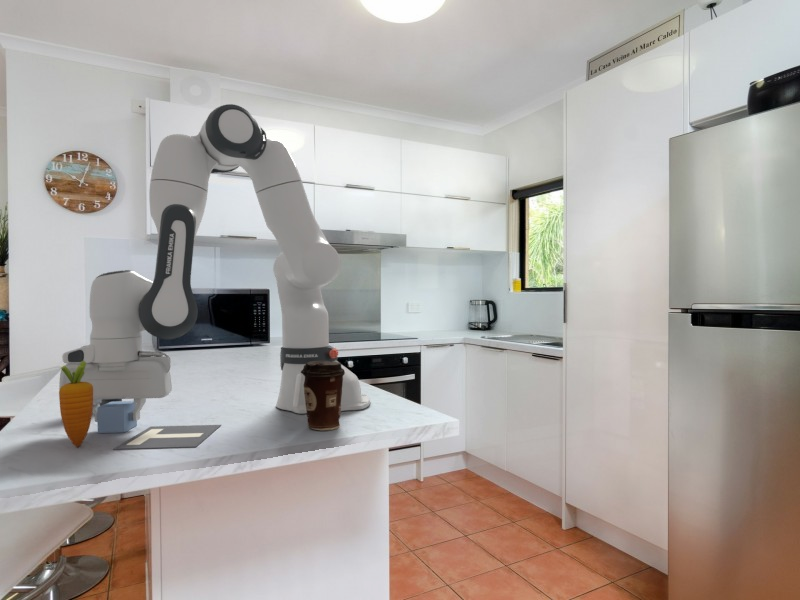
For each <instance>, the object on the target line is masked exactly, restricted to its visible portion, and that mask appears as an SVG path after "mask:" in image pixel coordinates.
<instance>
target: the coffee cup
mask: <svg viewBox="0 0 800 600" xmlns="http://www.w3.org/2000/svg"><path fill="white" fill-rule="evenodd" d="M341 364H342V363H341V362H339V361H338V362H330V361H310V362H307V363H306V365H304V368H303V370H302V371H301V373H302V374H303V375H304V376H305V381H304V395H305V404H306V411H307V413H306V416H307V427H308V428H310V429H312V430H313V431H314V430H315V431H320V432H321V431H333V430H337V429H338V428H340V424H341V423H340V419H341V412H342V411H341V398H342V385H343V375H344V374H345V372H344V369H343V368H342V367H341Z"/></svg>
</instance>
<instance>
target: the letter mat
mask: <svg viewBox="0 0 800 600" xmlns="http://www.w3.org/2000/svg"><path fill="white" fill-rule="evenodd" d="M221 426H222V424H204V425H203V424H198V425H196V424H194V425H193V424H192V425H163V426H161V425H160V426H156V425H155V426H149V427H147V428H146V429H144V430H142V431H140V432H139V433H138V434H136V435H134V436H133V437H130V438H129V439H127V440H126V441H123V442H122V443H120V444H119V445H117V446H115V447H114V448H112V450H116V451H117V450H119V451H120V450H147V449H150V450H151V449H181V448H185V449H186V448H197V447H198V446H199V445H201V444H202V443H203V442H204V441H205V440H206V439H208V438H209V437H210V436H211V435H212V434H213V433H214V432H216V430H218V429H220V427H221Z"/></svg>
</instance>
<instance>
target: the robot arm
mask: <svg viewBox="0 0 800 600" xmlns="http://www.w3.org/2000/svg"><path fill="white" fill-rule="evenodd" d="M267 137H268V136H267V134H266V131H265V130H264V129H263V128H262V127H261V126H260V125H259V124H258V122H257V120H256V119H255V117H254V116H253V114H252V113H250V112H249V111H248V110H247V109H245V108H244V107H242V106H240V105H237V104H232V103H231V104H223V105H220V106H218V107H215V109H213V110H212V111H211V112H210V113H209V114H208V116H207V118H206V120H205V121H204V122H203V123H202V126H201V128H200V131H199V132H198V134H197V135H194V136H193V135H191V136H190V135H187V134H184V133H183V134H181V133H175V134H169V135H167V136H165V137H164V138H162V140H161V141H160V143H159V146H158V148H157V151H156V154H155V157H154V162H153V165H152V170H151V176H150V182H149V191H148V192H149V194H148V195H149V211H150V212H149V213H150V217H151V218H152V220H153V223H154V225H155V227H156V231H157V240H158V241H157V243H158V244H157V252H156V259H155V261H156V262H155V269H154V270H155V271H154V277H153V281H152V279H151V280H150V279H149V278H146V277H144V276H143V275H141V274H139V273H138V272H136V271H135V270H132V269H125V270H115V271H110V272H109V271H108V272H106V273H101V274H99V275H98V276H96V277H95V279H93V281H92V282H91V286H90V293H89V318H90V322H91V332H90V335H89V344H87V345H83V346H81V347H78V348H75V349H72V350H69V351H65V352H64V353H63V354H62V356H61V357H62V362H63V364H64V365H63V366H66V367H67V368H68V369H69V371H70V372H71V374H72V372H75V371H76V369H77V367H78V366H79V365H80V364H81V361H85V362H86V365H85V369H84V372H85V373H84V375H83V377H82V378H81V380H80V382H88V383H90V384H92V386H93V411H92V414H94V422H95V423H97V407H99V406H100V405H99V403H101V399H122V400H128V399H129V400H130V399H132V400H133V401H134V404H137V405H136V407H135V409H134V410H133V411H131V412H129V413H128V416H129V418H128V420H129V421H137V422H138V421H139V420H141V411H142V409H143V407H144V406H145V404H146V402H147V399H163V398H165V397H167V396H169V395H170V394H171V392H172V389H173V384H172V376H171V371H170V370H171V366H172V365H171V362H172V361H171V357H170V356H169V354H167V353H165V352H163V351H162V350H156V351H147V350H142V348H143V347H142V346H143V343H142V342H143V341H142V336H143V335H142V332H144V331H146V332H147V333H149V334H150V335H151V336H153V337H155V338H158V339H163V340H172V339H177V338H180V337H182V336H184V335H185V334H187V333H188V332H190V330H192V329H193V328H194V326H195V325H196V322H197V319H198V314H199V311H198V310H199V309H198V304H197V300H196V298H195V296H194V293H193V290H192V285H191V280H192V278H191V277H192V269H193V267H192V266H193V257H194V244H195V239H196V236H197V233H198V231H199V229H200V225H201V222H202V220H203V216H204V213H205V209H206V204H207V200H208V191H209V180H210V176H211V174H217V173H218V174H223V173H224V174H225V173H230V172H233V171H235V170H237V169H238V168H239V167H241V169H243V170H244V171H245V172H246V174H247V175H248V177H249V178H250V181H252V185H253V188H254V191H255V195H256V199H257V200H258V203H259V204H258V205H259V206H260V209H261V213H262V215H263V219H264V222H265V224H266V227H267V229H269V231H270V232H271V233H272V235H273V236H274V238H275V240H276V241H277V243H278V245H279V247H280V249H281V252H280V253H279V254H278V255H277V257H276V258H275V260H274V262H273V270H272V271H273V274H274V278H275V279H276V286H277V294H278V298H279V303H280V310H281V319H282V320H281V325H282V326H281V327H282V328H281V329H282V330H281V331H282V333H281V334H282V340H281V341H282V346H281V347H280V352H279V360H280V361H279V362H280V371H281V379H280V380H281V381H280V387H279V393H278V398H277V401H276V404H275V406H276V408H277V409H280V410H285V411H289V412H292V413H295V414H299V415H300V414H307V411H306V404H305V395H304V381H305V376H304V375H303V374H302V373H301V371H302V370H303V368H304V365H306V363H307V362H310V361H330V362H339V361H338V356H339V351H338V349H337V348H336V347H333V346H332V345H330V337H329V336H330V335H329V334H330V333H329V332H330V328H329V325H330V324H329V323H330V322H329V316H330V315H329V313H328V310H327V307H326V306H325V302H324V298H323V294H322V289H321V288H323V287H326V286H328V284H331V282H333V281H334V280H336V278H337V277H339V276H338V275H339V274H340V272H341V268H342V261H341V257H340V254H339V253H338V251H337V250H336V248H335V247H334V246H332V245H331V244H330V243H329V241H328V240H327V237H326V235H325V234H324V233H323V231H322V229H321V228H320V225H319V224H318V222H317V220H316V217H315V216H314V213H313V211H312V208H311V205H310V203H309V199H308V196H307V193H306V190H305V187H304V183H303V180H302V178H301V175H300V173H299V170H298V167H297V165H296V162H295V160H294V159H293V157H292V154H291V152H290V151H289V149H288V147H287V146H286V144H285V143H284V142H282V141H281V140H278V139H274V138H267ZM341 367H342V368H343V369H344V372H345V374H344V375H343V385H342V398H341V412H343V411H356V410H358V411H359V410H364V409H366V408H368V407H369V406H370V404H371V398H370V396H369V395H367V394H365V393H362V388H361V383H360V380H359V378H358V376H357V375H356V374H355V373H353V372H352V371H351V370H350V369H348V368H347V367H346V366H344V365H343V364H342V363H341ZM72 377H73V375H72ZM58 383H59V385H58V386H59V388H58V390H60V388H61V387H62V386H63V385H65V384H68V383H71V382H70V380H69V379H68V377H67V376H66V374H65V373H64V372H63V371H62V369H60V374H59V381H58Z"/></svg>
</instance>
